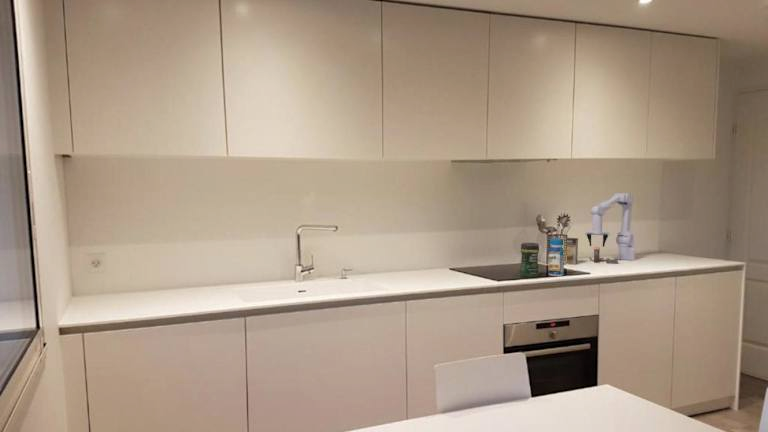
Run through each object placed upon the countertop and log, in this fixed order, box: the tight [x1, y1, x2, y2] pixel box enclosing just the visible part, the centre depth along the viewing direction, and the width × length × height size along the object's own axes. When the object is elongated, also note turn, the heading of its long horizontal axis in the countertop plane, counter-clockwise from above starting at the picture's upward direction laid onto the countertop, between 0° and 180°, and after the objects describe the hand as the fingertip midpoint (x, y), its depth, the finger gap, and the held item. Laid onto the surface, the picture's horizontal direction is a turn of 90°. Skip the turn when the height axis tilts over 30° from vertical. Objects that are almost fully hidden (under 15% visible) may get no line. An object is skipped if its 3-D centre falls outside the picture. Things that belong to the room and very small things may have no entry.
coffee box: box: [566, 237, 579, 265], centre depth 330 cm, size 9×6×16 cm
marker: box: [593, 246, 601, 264], centre depth 334 cm, size 3×3×10 cm
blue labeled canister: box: [547, 238, 565, 277], centre depth 289 cm, size 8×8×20 cm
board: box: [588, 256, 609, 262], centre depth 343 cm, size 12×10×1 cm
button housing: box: [605, 258, 619, 265], centre depth 331 cm, size 6×6×2 cm
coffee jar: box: [519, 242, 540, 278], centre depth 286 cm, size 10×8×19 cm
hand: (596, 246), depth 333 cm, fingers open, 7 cm apart
